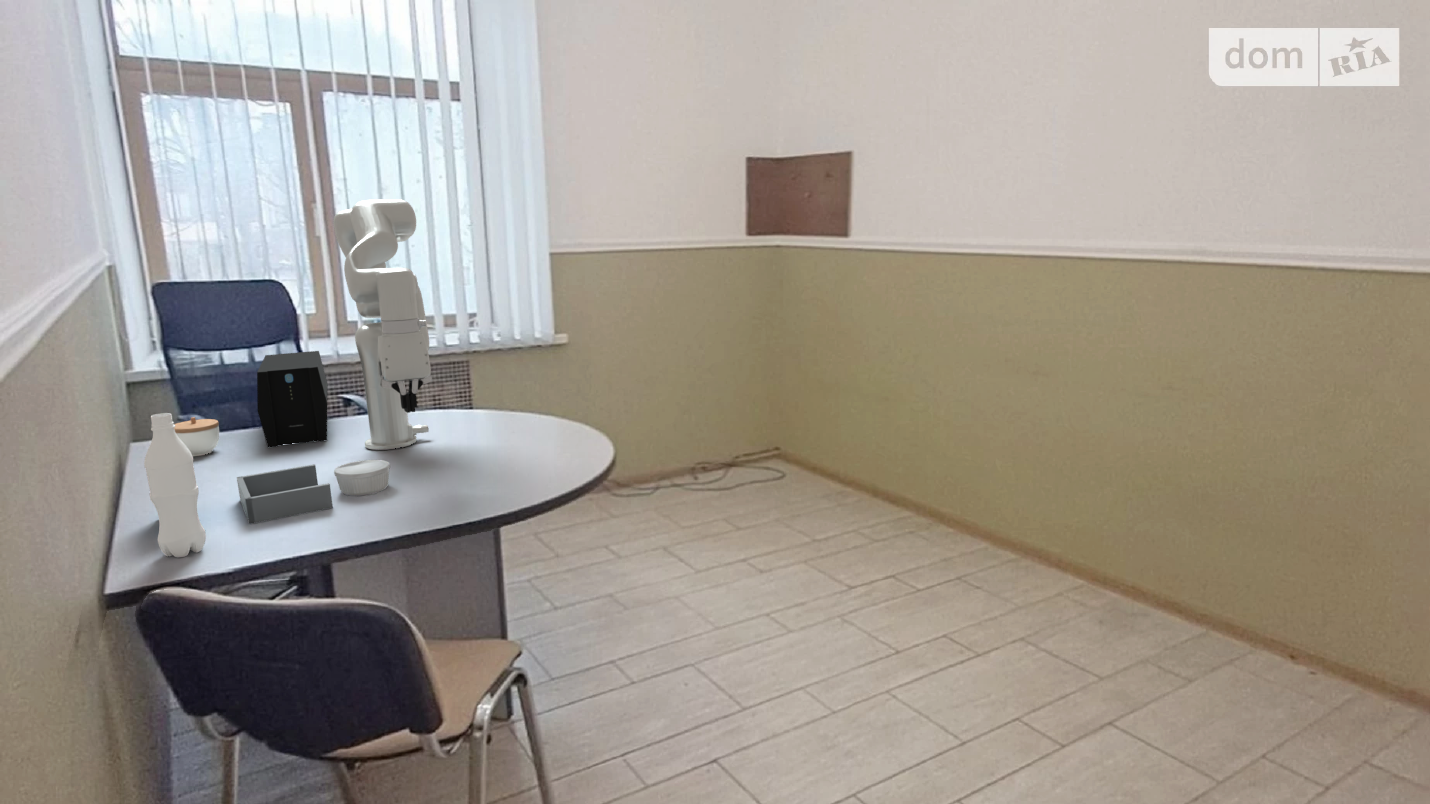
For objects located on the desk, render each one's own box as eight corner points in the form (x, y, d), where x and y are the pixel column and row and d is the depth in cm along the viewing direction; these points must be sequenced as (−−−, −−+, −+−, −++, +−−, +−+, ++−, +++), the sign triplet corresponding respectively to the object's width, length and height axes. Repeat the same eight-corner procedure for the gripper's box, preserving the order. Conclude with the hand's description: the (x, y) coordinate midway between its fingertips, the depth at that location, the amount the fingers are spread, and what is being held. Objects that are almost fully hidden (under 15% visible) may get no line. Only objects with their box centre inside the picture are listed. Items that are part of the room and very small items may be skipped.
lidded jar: (224, 445, 222) (219, 411, 220) (220, 455, 213) (215, 419, 211) (177, 451, 218) (171, 416, 216) (171, 461, 208) (164, 424, 206)
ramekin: (367, 479, 190) (364, 456, 188) (403, 485, 185) (401, 462, 183) (325, 494, 180) (322, 470, 179) (362, 500, 175) (359, 476, 174)
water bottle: (173, 563, 144) (148, 421, 139) (152, 555, 148) (127, 417, 143) (216, 549, 150) (193, 412, 145) (195, 541, 154) (172, 408, 149)
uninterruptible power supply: (263, 448, 218) (251, 372, 214) (271, 421, 249) (261, 354, 244) (332, 440, 225) (322, 366, 221) (331, 415, 255) (323, 349, 251)
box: (317, 486, 185) (314, 464, 184) (332, 507, 171) (329, 484, 169) (240, 500, 177) (236, 477, 176) (249, 524, 162) (245, 499, 161)
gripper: (431, 323, 188) (439, 404, 191) (360, 329, 180) (370, 413, 183) (440, 325, 182) (449, 409, 185) (367, 332, 174) (378, 419, 177)
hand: (409, 411), depth 184 cm, fingers closed
